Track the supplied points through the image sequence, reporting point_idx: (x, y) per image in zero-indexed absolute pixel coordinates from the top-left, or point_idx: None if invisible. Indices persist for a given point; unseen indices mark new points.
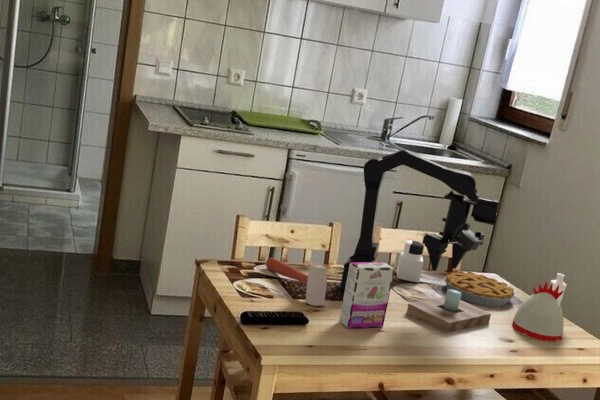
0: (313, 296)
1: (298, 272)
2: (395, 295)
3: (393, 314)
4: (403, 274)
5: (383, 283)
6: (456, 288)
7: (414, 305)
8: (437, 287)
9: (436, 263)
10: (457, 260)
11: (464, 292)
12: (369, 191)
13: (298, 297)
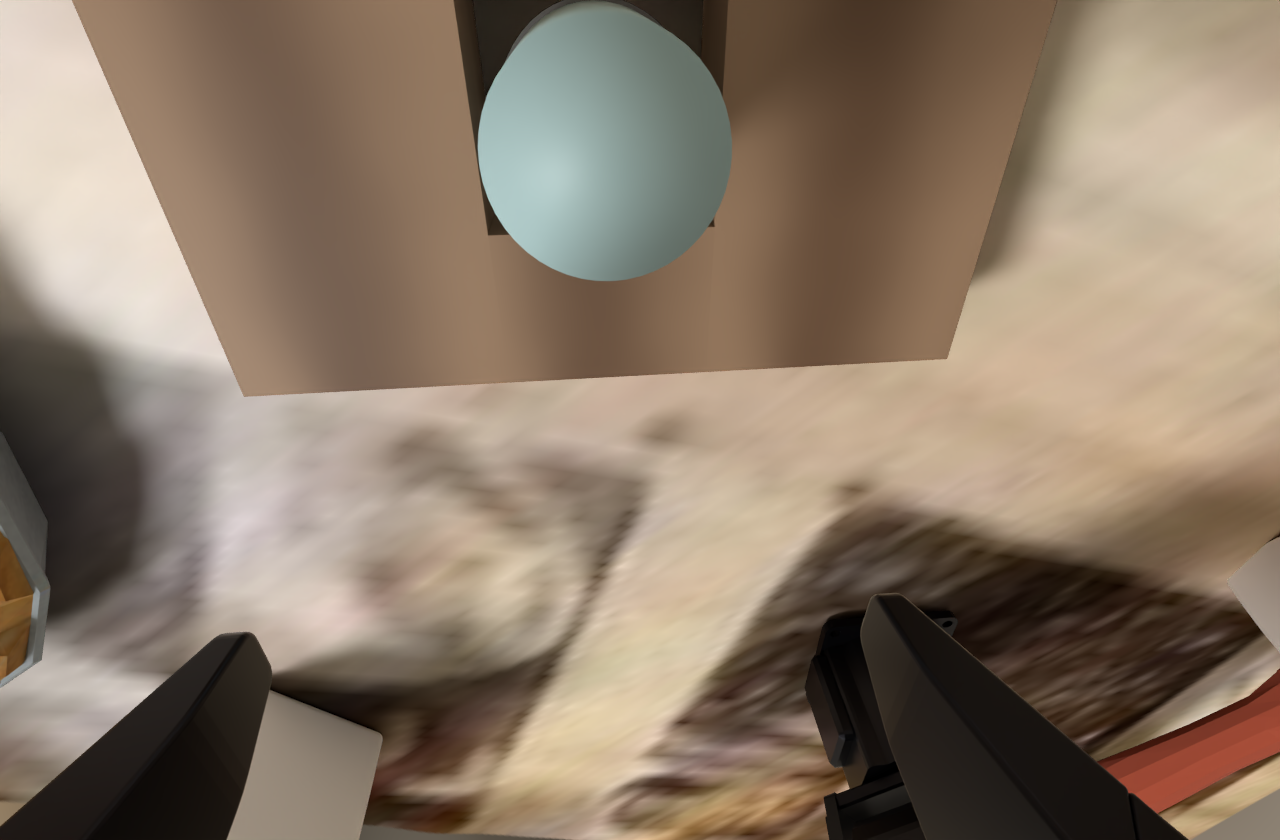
0: None
1: (1229, 774)
2: (647, 567)
3: (1024, 330)
4: (347, 756)
5: None
6: (11, 523)
7: (944, 307)
8: (125, 618)
9: (1057, 728)
10: (131, 829)
11: None
12: None
13: (1249, 622)
